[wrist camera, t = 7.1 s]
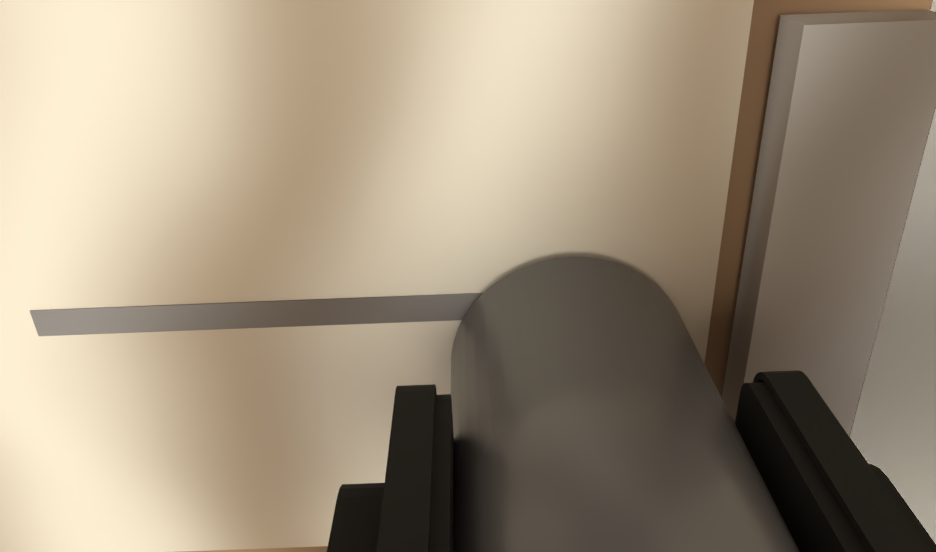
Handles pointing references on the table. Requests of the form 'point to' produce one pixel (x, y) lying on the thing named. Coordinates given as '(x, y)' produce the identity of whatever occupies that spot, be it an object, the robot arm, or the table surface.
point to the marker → (595, 424)
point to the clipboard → (405, 224)
